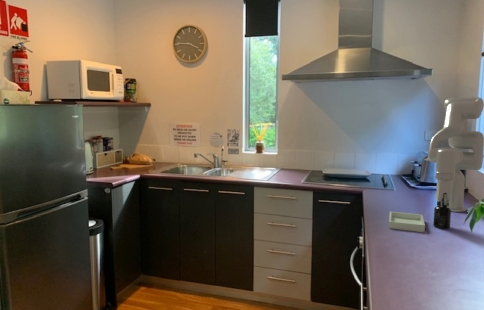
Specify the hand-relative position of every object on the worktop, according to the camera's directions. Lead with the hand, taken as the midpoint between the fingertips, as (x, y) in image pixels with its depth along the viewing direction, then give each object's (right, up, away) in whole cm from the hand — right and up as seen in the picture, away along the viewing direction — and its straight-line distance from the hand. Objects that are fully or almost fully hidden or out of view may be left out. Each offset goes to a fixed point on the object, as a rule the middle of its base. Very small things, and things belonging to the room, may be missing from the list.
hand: (442, 213), depth 166 cm
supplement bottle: (0, -7, +1) cm, 7 cm away
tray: (-14, -6, +5) cm, 16 cm away
